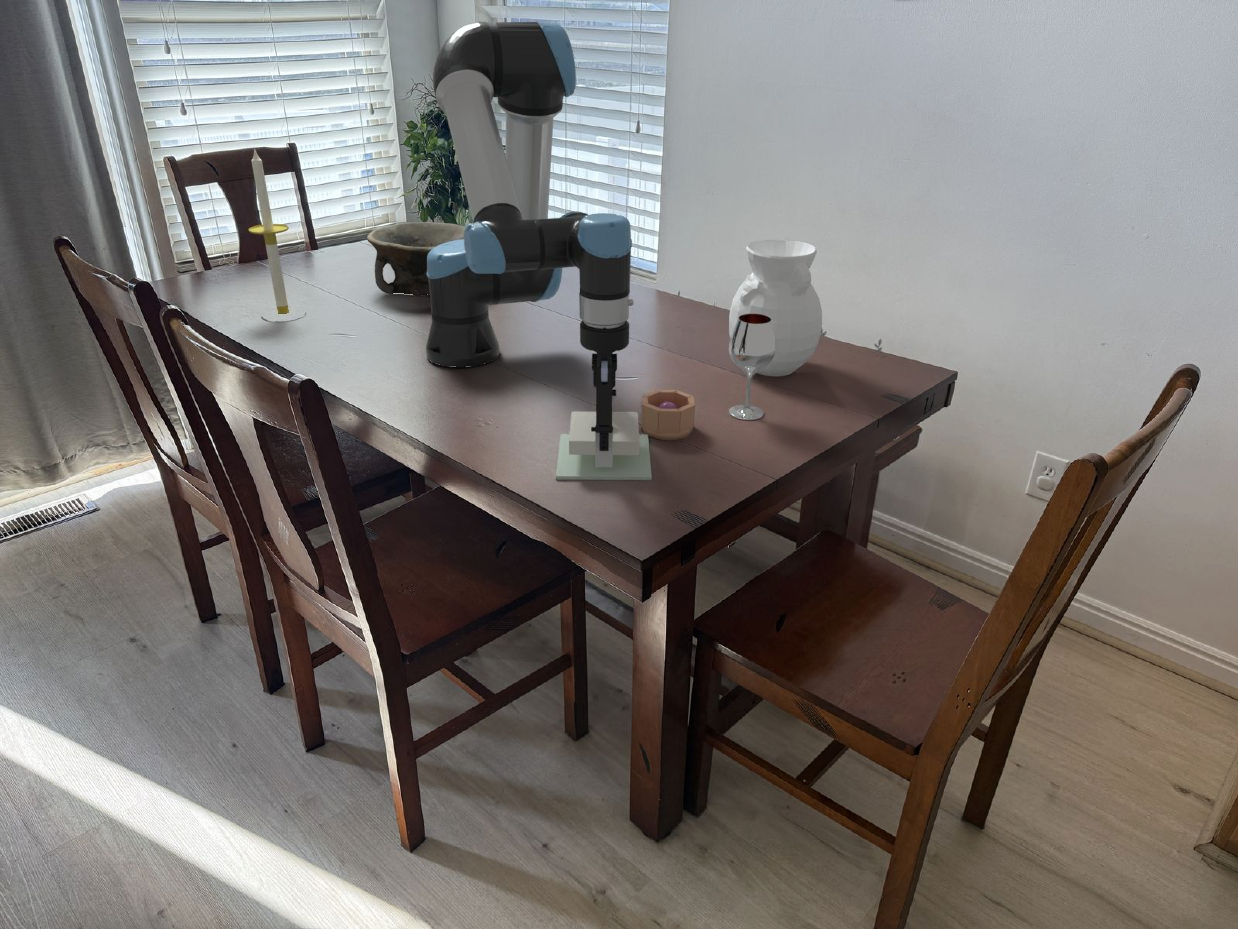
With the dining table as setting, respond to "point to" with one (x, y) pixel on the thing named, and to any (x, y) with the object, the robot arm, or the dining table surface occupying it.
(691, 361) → the dining table surface
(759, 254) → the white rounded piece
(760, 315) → the wineglass
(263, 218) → the candle
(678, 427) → the pot
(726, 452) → the dining table surface
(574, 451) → the lid
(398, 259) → the bowl
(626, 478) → the mat
